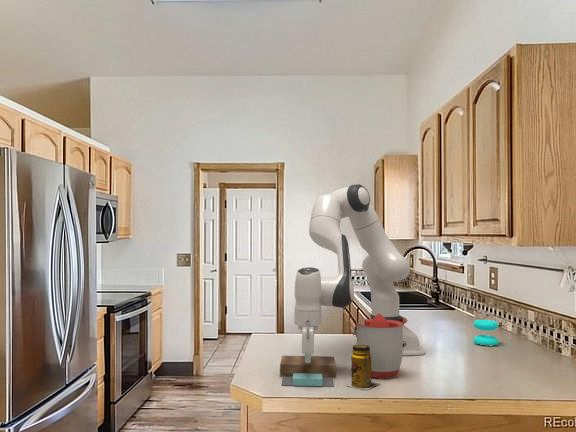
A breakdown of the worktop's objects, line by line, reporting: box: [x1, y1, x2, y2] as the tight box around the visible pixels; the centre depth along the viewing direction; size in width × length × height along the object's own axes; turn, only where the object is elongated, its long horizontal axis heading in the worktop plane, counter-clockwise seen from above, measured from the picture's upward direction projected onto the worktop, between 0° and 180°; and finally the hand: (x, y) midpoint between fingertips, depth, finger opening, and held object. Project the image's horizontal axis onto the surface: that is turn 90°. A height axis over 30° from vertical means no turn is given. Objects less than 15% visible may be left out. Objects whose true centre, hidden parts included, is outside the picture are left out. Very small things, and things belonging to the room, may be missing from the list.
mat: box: [281, 377, 335, 388], centre depth 153 cm, size 16×9×1 cm, turn 88°
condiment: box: [345, 344, 381, 391], centre depth 150 cm, size 7×8×12 cm
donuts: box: [472, 319, 499, 346], centre depth 210 cm, size 10×10×10 cm
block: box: [293, 373, 322, 387], centre depth 151 cm, size 9×6×2 cm, turn 87°
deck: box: [279, 355, 337, 379], centre depth 164 cm, size 18×12×4 cm, turn 88°
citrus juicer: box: [352, 313, 403, 380], centre depth 163 cm, size 16×17×20 cm
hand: (307, 362), depth 157 cm, fingers closed
